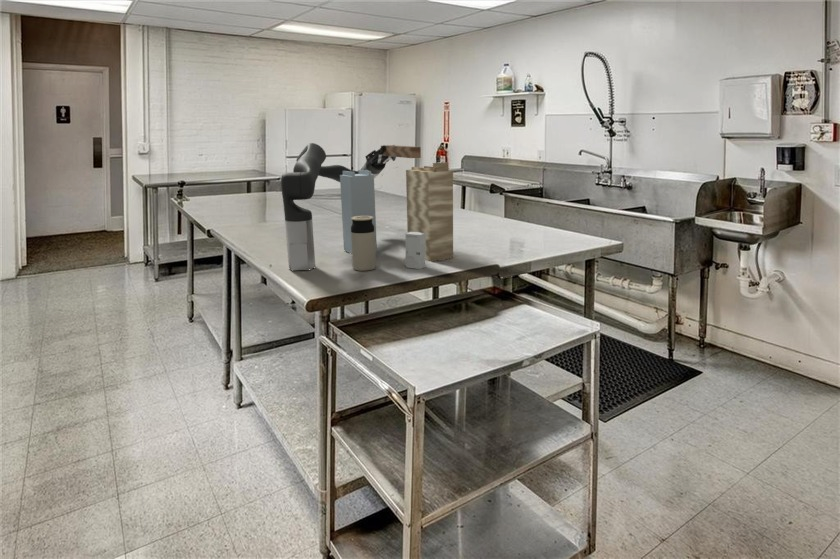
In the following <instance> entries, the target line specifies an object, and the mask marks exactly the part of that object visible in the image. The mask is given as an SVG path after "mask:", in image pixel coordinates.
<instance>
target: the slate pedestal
mask: <svg viewBox="0 0 840 559" xmlns="http://www.w3.org/2000/svg"><path fill="white" fill-rule="evenodd" d="M357 171H359V174H355V172H349V171H343V175H340V182H339V183H340V201H341V217H342V218H341V220H342V221H341V222H342V237H343V238H342V240H343V251H344V250H345V251H347V252H349V253H351V254H350V255H352V240H351V226H352V224H353V222H352V219H351V218H352V217H355V216H372V217H373V219H372V223H373V225H374V234H375V253H378V250H377V248H378V246H377V242H378V241H377V224H376V222H377V220H376V199H375V198H376V194H375V178H374V175H371V171H365V170H361V169H358V170H357ZM345 251H344V252H345ZM347 252H346V253H347ZM349 253H348V254H349Z"/></svg>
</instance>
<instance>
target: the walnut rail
mask: <svg viewBox="0 0 840 559" xmlns="http://www.w3.org/2000/svg"><path fill="white" fill-rule="evenodd" d="M384 145H385V144H384ZM394 145H395V144H390V145H389V144H386V145H385V147H386V151H385V152H384V153H383V154H382V156H391V157H396V158H406V159H421V157H422V156H421V154H422V153H421V150H422V148H421V146H413V145H412V146H411V145H395V146H394ZM382 146H383V145H380V148H381V147H382Z"/></svg>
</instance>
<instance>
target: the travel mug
mask: <svg viewBox="0 0 840 559" xmlns="http://www.w3.org/2000/svg"><path fill="white" fill-rule="evenodd" d="M351 219H352V222H353V224H352V226H351V240H352V254H351V255H352V256H351V257H352V260H351V261H352V269H353V270H355V271H360V272H368V271H373V270H374V269H376V267H377V265H376V264H377V263H376V261H377V260H376V252H375V234H374V225H373V223H372V219H373V217H372V216H355V217H352V218H351Z"/></svg>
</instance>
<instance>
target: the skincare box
mask: <svg viewBox="0 0 840 559" xmlns="http://www.w3.org/2000/svg"><path fill="white" fill-rule="evenodd" d="M425 254H426V233H420V232H409V233H408V232H407V233H405V268H409V269H415V270H422V269H424V268H425V267H426V260H425Z"/></svg>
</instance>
